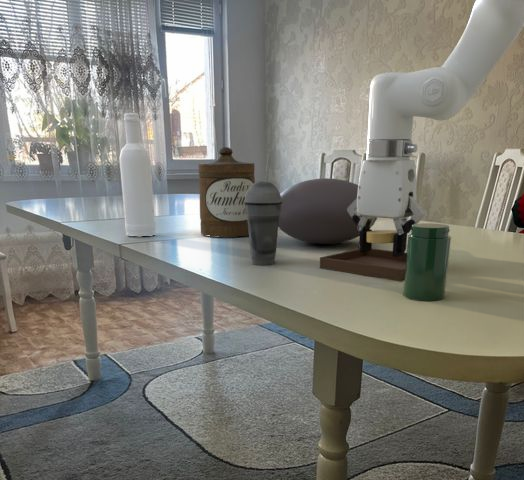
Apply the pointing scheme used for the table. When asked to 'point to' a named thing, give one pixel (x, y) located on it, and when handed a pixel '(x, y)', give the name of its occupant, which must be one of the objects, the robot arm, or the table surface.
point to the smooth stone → (319, 211)
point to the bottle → (136, 181)
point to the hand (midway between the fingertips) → (381, 252)
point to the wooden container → (224, 195)
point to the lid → (381, 236)
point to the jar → (427, 262)
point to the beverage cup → (263, 220)
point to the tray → (367, 263)
